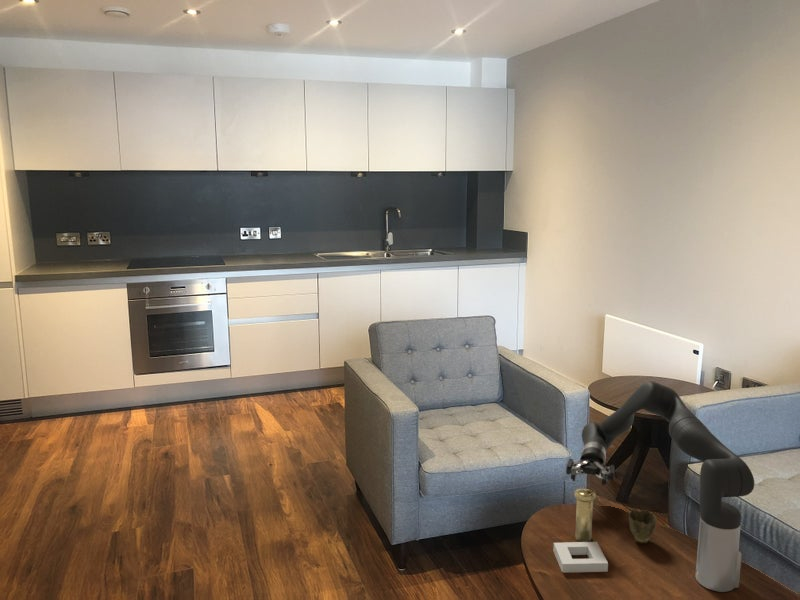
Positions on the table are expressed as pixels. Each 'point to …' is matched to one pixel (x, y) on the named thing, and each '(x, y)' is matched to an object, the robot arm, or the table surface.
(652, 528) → the cup
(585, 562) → the frame
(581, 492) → the gold flanged cylinder
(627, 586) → the table surface
